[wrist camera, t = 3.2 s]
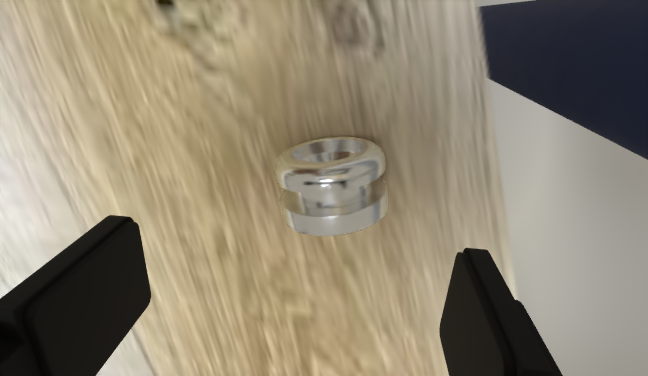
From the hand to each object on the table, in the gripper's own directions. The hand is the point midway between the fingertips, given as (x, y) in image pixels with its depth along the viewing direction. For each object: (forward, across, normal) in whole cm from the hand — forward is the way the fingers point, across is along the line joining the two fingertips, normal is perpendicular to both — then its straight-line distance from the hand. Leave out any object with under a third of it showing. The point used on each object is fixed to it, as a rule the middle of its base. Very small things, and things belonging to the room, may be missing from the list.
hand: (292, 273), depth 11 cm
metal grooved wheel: (+10, -1, 0) cm, 10 cm away
